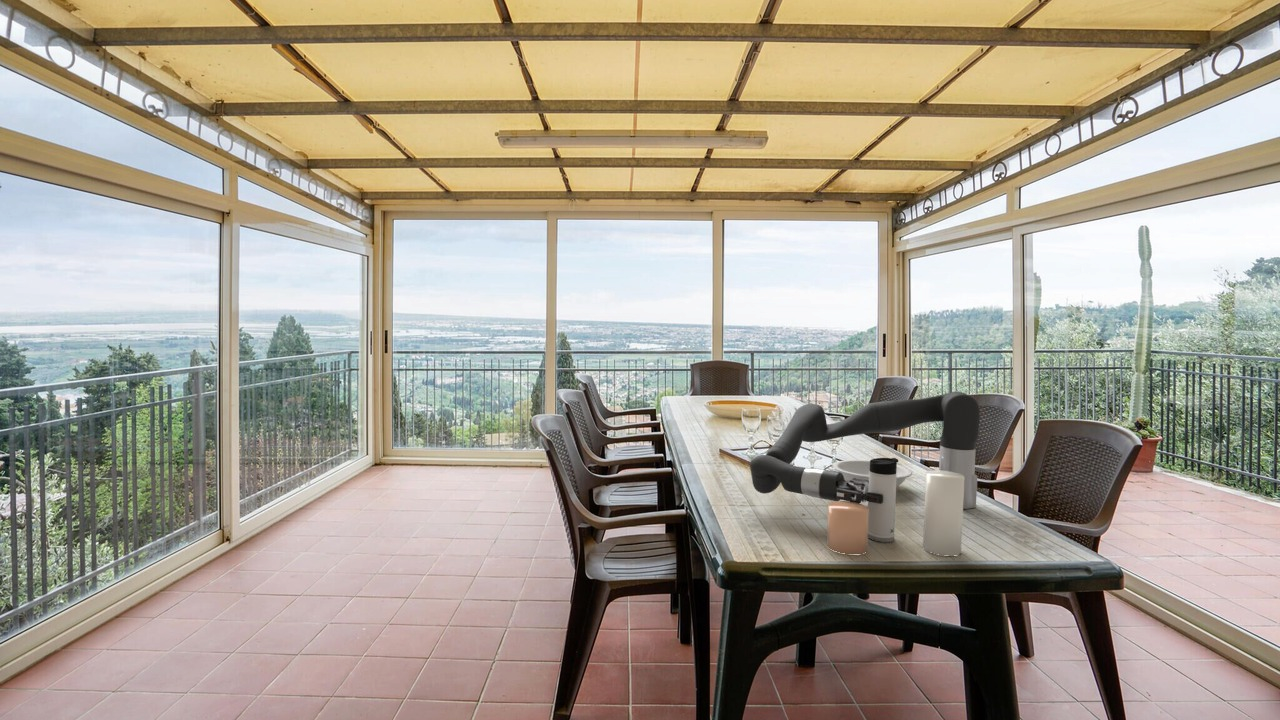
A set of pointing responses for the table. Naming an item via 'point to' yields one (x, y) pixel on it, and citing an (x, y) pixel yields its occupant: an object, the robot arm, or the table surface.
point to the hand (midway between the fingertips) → (887, 495)
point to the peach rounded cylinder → (847, 527)
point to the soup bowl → (866, 470)
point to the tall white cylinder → (943, 512)
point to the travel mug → (883, 514)
